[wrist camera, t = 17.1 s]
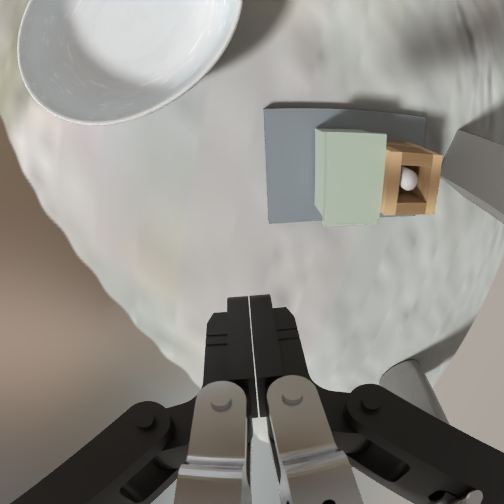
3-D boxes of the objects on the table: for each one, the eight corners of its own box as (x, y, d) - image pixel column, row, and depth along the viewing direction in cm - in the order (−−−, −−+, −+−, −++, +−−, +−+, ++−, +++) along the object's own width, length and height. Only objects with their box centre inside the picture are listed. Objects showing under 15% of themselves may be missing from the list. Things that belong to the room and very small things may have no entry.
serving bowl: (170, -80, 14) (158, -109, 8) (282, 39, 23) (297, 25, 17) (26, 37, 19) (-10, 34, 13) (116, 157, 28) (89, 176, 22)
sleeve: (405, 192, 31) (433, 213, 25) (360, 193, 30) (384, 215, 25) (410, 142, 28) (442, 155, 22) (363, 139, 27) (390, 151, 22)
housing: (360, 205, 31) (378, 223, 27) (311, 207, 31) (324, 226, 27) (364, 127, 27) (386, 134, 22) (312, 125, 26) (326, 131, 22)
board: (410, 211, 33) (437, 234, 28) (268, 219, 33) (275, 246, 27) (420, 116, 27) (453, 124, 22) (263, 108, 27) (271, 111, 21)
